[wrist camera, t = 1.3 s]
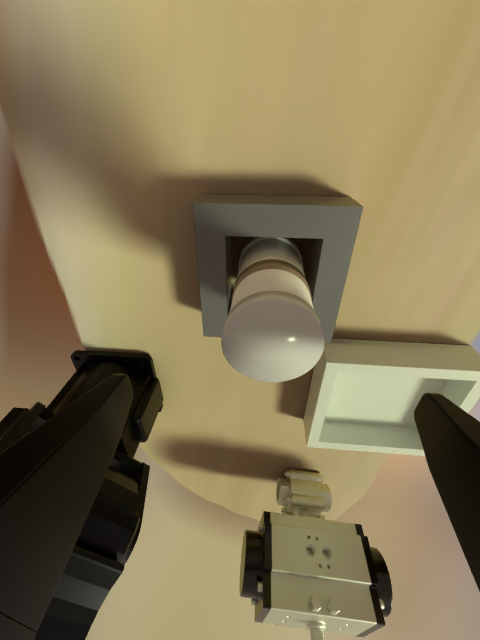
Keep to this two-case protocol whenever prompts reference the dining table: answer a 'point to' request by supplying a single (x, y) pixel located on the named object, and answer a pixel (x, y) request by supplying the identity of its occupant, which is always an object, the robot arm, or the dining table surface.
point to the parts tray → (383, 392)
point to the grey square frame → (274, 221)
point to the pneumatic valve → (313, 565)
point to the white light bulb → (272, 314)
